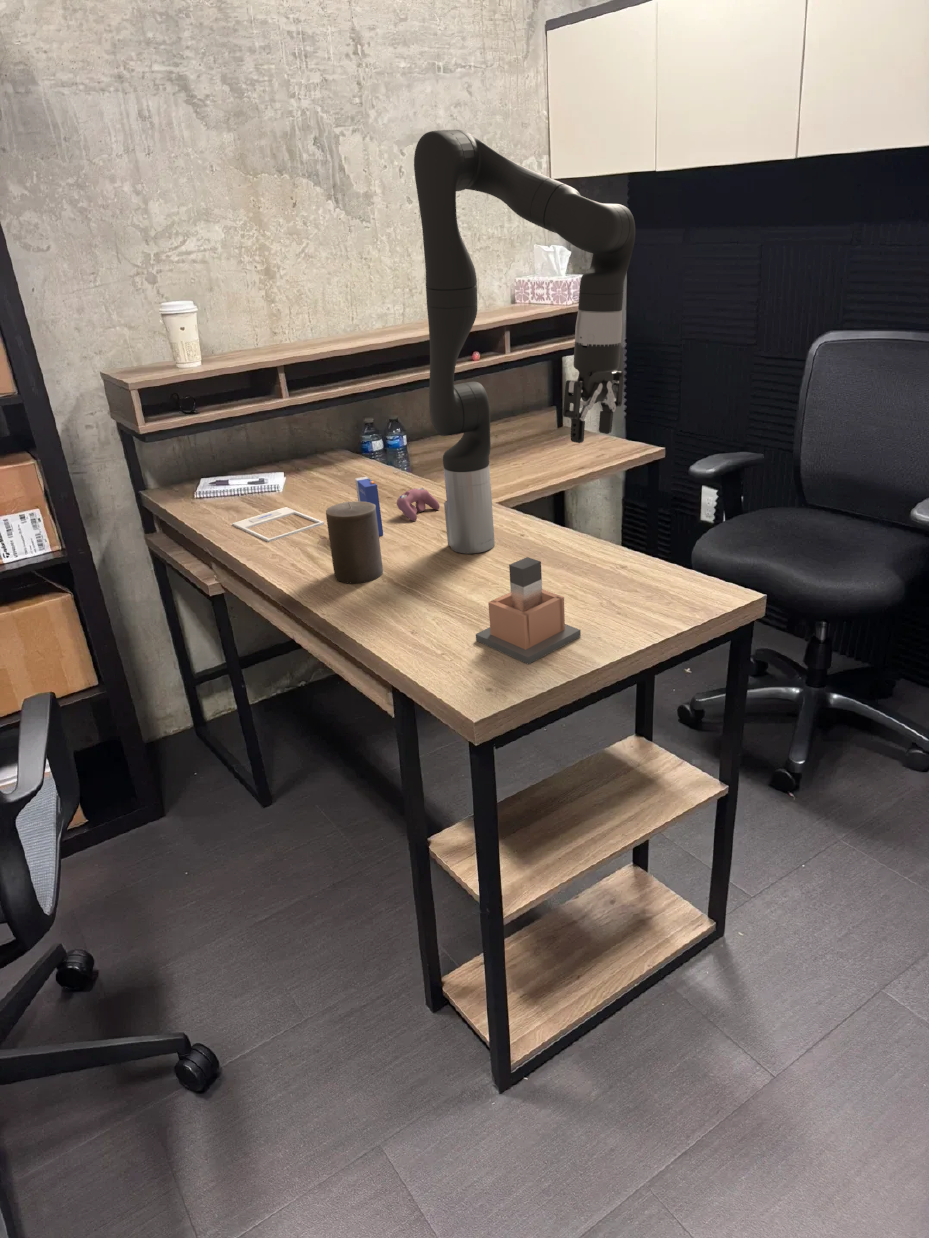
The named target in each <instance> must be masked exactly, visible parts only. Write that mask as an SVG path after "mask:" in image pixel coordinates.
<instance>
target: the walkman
mask: <svg viewBox="0 0 929 1238" xmlns="http://www.w3.org/2000/svg"><path fill="white" fill-rule="evenodd" d="M354 481H355V486H356V487H355V488H356V495H357V497H356V498H357V501H360V502H370V503H372V504H375V506H376V516H377V524H378V532H379V537H382V536H384V529H383V520H382V514H381V505H380V499H379V491H378V484H377V483H375V481H373V480H371V479H370V478H369V477H368V476H363V477H361V476H360V477H356V478H354Z"/></svg>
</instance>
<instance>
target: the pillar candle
mask: <svg viewBox="0 0 929 1238" xmlns="http://www.w3.org/2000/svg"><path fill="white" fill-rule="evenodd" d="M325 515H326V524H327V532H328V539H329V548H330V555H331V560H332V562H331V563H332V567H333V573H334V578H335V580H336V581H338V582H341V583H344V584H345V583H346V584H350V585H351V584H352V585H353V584H355V585H356V584H362V583H368V582H371V581H373V580H376V579H378V578H380V577H381V576H382V575H383V573H384V569H383V566H384V565H383V560H382V559H383V558H382V551H381V549H382V548H381V542H380V536H379V532H378V524H377V516H376V506H375V504H372V503H370V502H360V501H358V500H355V501H353V500H352V501H344V502H340V503H336V504H334V505H330V506H329V507H327V508H326V510H325Z"/></svg>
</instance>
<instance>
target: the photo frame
mask: <svg viewBox="0 0 929 1238" xmlns="http://www.w3.org/2000/svg"><path fill="white" fill-rule="evenodd" d="M294 515H296V516H299V517H301V518H303V519H306V520H309V521H311V522H313V523H314V524H313V523H312V524H310V525H308V526H304V527H301V528H298V529H295V530H292V531H289V532H285V533H282V534H280V535H276V536H272V537H270V538H269V537H267V536H265V535H263V534H260V533H258V532H256V531H254V530H252V528H253V527H254V528H255V527H257V526H260V525H263V524H266V523H269V522H273V521H276V520H279V519H284V518H286V517H289V516H294ZM231 525H232V526H233V527H236V528H238V529H240V530H242V531H244V532H247V533H248V534H251V535H252V536H255V537H257V538H259V539H261V540H263V541H265V542H268V543H271V542H274V541H277V540H280V539H283V538H286V537H289V536H293V535H295V534H298V533H301V532H305V531H308V530H310V529H314V528H317V527H320V526H324V525H325V521H323V520H320V519H318V518H315V517H312V516H310V515H307V514H305V513H302V512H300V511H297V510H295V509H292V508H290V507H287V506H285V507H281V508H278V509H274V510H271V511H269V512H264V513H261V514H258V515H255V516H252V517H251V516H250V517H248V518H245V519H242V520H239V521H236V522H232V523H231ZM250 528H251V529H250Z"/></svg>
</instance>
